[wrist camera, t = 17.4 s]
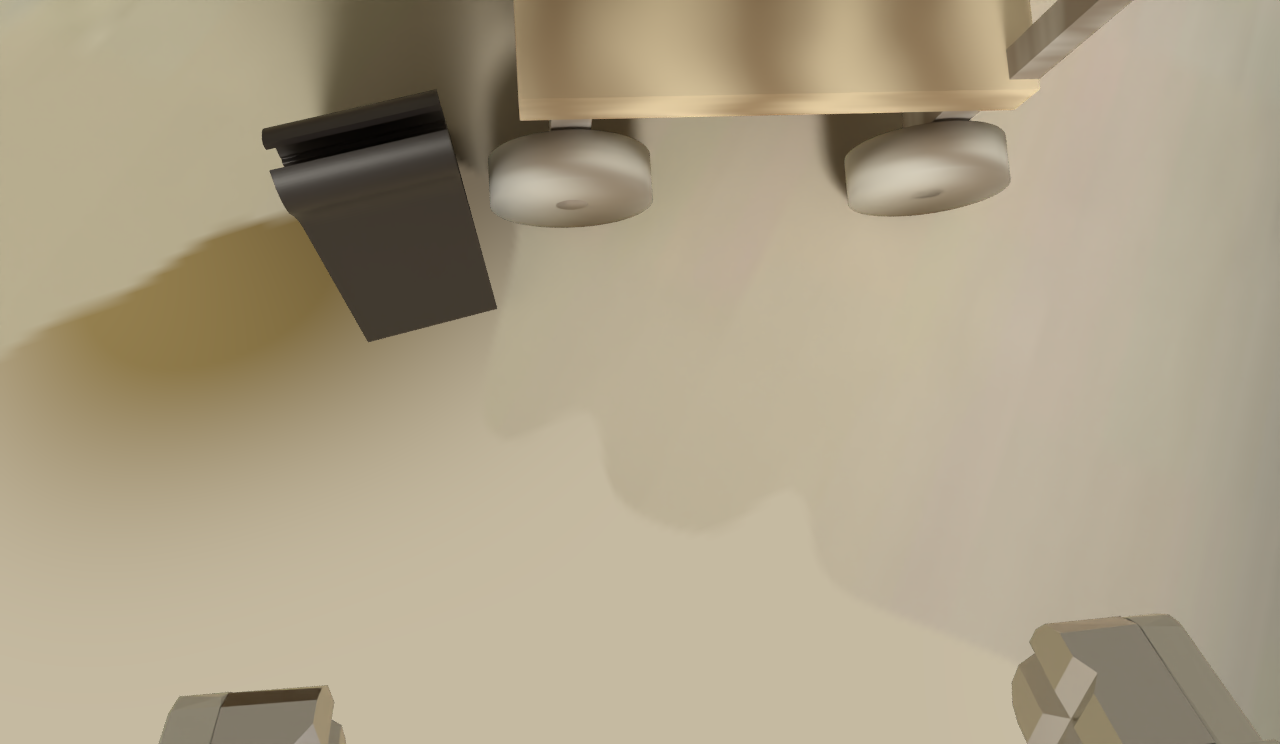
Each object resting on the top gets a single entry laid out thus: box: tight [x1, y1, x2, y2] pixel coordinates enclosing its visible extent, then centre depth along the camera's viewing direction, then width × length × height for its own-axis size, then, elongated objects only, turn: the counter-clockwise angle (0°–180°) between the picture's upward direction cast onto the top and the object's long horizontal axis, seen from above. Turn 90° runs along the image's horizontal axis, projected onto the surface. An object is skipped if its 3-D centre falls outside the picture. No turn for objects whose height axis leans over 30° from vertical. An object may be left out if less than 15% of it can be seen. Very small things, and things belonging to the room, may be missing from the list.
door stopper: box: [262, 90, 497, 342], centre depth 37 cm, size 9×6×12 cm, turn 16°
